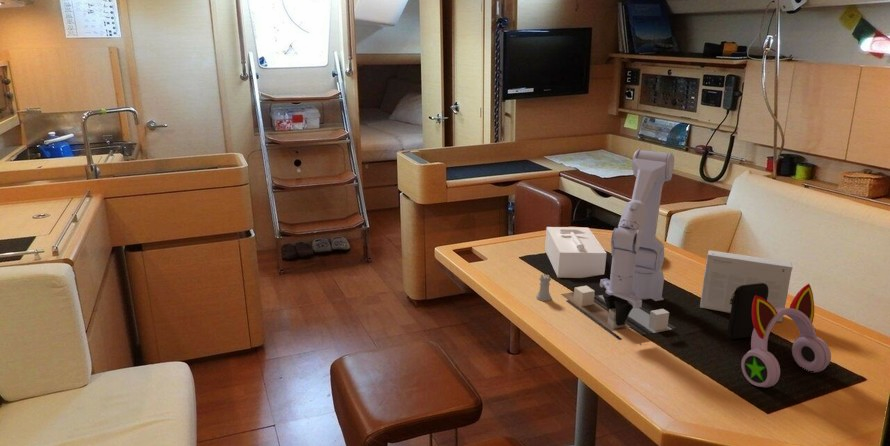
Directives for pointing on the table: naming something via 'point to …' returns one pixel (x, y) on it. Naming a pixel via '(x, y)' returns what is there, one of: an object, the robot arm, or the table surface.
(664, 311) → the strip
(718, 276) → the skincare box
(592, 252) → the white rectangular block
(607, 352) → the table surface
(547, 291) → the rook chess piece
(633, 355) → the table surface
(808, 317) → the headphones
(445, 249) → the table surface
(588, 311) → the strip
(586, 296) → the cube
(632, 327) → the lane rails
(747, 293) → the carrying case or bag
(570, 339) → the table surface
